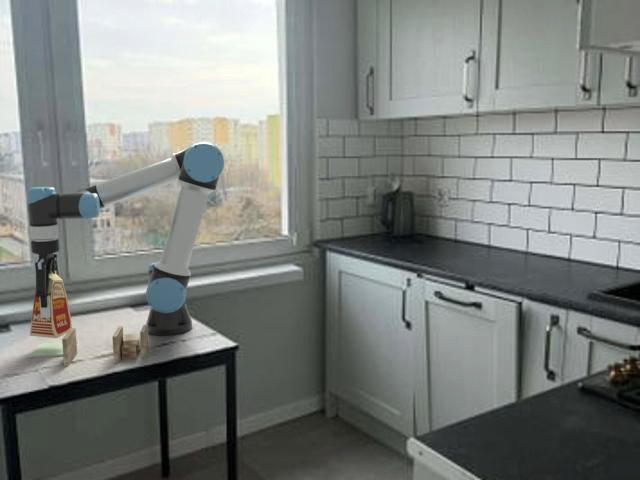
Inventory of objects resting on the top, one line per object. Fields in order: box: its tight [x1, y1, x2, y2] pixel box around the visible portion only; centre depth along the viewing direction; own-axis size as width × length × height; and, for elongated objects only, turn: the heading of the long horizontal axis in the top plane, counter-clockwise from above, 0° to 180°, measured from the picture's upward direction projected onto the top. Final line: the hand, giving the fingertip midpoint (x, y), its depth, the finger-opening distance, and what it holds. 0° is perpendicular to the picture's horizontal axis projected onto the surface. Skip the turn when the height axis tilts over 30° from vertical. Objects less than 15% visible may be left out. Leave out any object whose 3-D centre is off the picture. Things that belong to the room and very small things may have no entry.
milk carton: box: [29, 271, 73, 339], centre depth 181 cm, size 9×9×20 cm
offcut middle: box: [122, 339, 140, 354], centre depth 179 cm, size 4×6×2 cm, turn 9°
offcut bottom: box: [121, 345, 141, 359], centre depth 179 cm, size 4×6×2 cm, turn 7°
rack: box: [61, 324, 150, 367], centre depth 176 cm, size 22×10×8 cm, turn 99°
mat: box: [28, 340, 78, 359], centre depth 183 cm, size 11×11×1 cm
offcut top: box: [123, 332, 139, 348], centre depth 179 cm, size 4×6×2 cm, turn 20°
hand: (50, 312), depth 181 cm, fingers closed on milk carton, 8 cm apart
